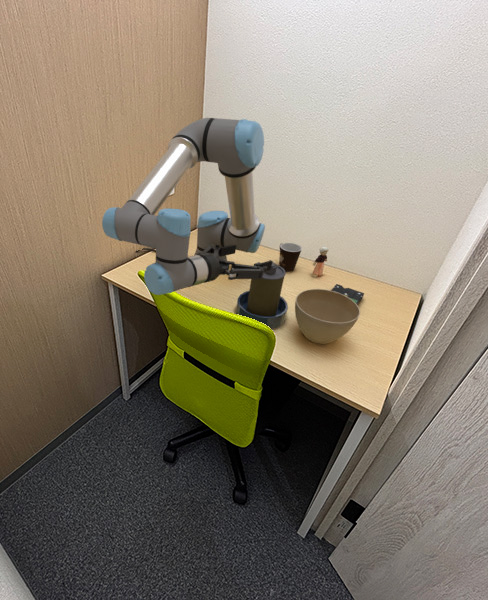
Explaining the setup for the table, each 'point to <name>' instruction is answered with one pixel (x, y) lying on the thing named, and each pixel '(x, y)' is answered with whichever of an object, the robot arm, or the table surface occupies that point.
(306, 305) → the tan rounded vessel
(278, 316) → the bowl
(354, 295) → the disk drive
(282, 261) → the coffee mug
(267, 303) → the canister
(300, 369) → the table surface
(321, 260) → the grandmother figurine
